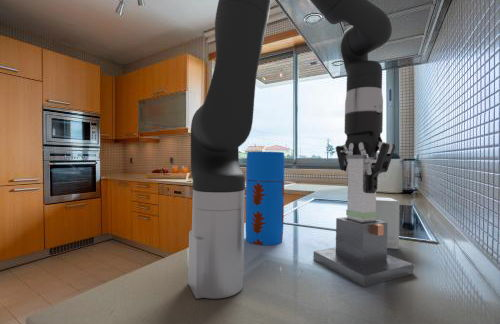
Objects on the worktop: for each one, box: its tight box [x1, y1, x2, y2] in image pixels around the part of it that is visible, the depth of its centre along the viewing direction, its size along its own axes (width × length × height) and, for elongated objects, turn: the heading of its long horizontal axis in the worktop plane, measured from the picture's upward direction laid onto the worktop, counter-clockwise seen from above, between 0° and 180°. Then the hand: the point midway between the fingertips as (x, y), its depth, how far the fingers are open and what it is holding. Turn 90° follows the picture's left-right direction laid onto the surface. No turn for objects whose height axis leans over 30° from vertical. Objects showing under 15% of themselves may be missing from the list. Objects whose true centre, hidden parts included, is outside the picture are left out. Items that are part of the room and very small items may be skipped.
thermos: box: [245, 151, 285, 246], centre depth 74 cm, size 11×11×25 cm
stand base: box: [312, 216, 414, 288], centre depth 56 cm, size 14×14×10 cm
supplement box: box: [376, 196, 401, 250], centre depth 72 cm, size 7×7×13 cm
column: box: [345, 155, 377, 224], centre depth 56 cm, size 5×5×19 cm
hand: (361, 191), depth 56 cm, fingers closed on column, 4 cm apart
